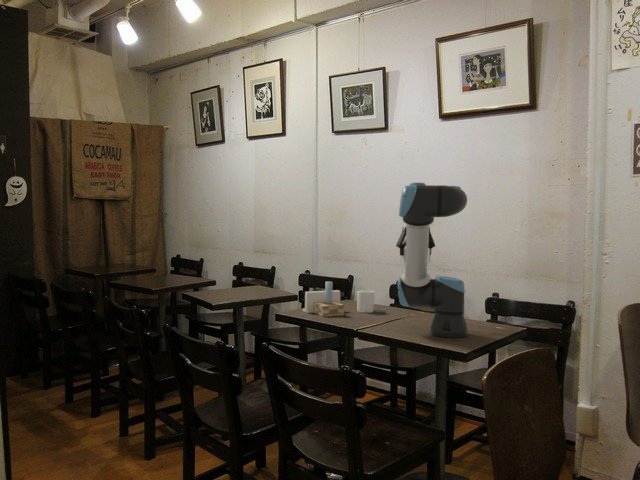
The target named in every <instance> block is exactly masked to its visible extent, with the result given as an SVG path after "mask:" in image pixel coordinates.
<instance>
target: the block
mask: <svg viewBox="0 0 640 480" xmlns="http://www.w3.org/2000/svg"><path fill="white" fill-rule="evenodd" d="M314 314H316V315H318V316H321V317H323V318H324V317H325V318H326V317H335V316H344V315H345V304H342V303H341V302H340V303H337V302H335V301H332V304H330V305H326V304H325V302H314Z"/></svg>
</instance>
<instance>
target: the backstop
mask: <svg viewBox="0 0 640 480" xmlns="http://www.w3.org/2000/svg"><path fill="white" fill-rule="evenodd" d="M332 301H335V302H337V303H340V304H341V290H339V289H336V290H335V289H334V290H333V289H332ZM314 302H325V290H317V291H316V290H315V291H305V292H304V308H302V312H304V313H306V314H311V313H314ZM314 314H315V313H314Z"/></svg>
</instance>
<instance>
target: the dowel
mask: <svg viewBox="0 0 640 480" xmlns="http://www.w3.org/2000/svg"><path fill="white" fill-rule="evenodd" d="M324 283H325V289H324V291H325V304H326V305H330V304H332V291H333V281H325V282H324Z"/></svg>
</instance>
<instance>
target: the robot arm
mask: <svg viewBox="0 0 640 480" xmlns="http://www.w3.org/2000/svg"><path fill="white" fill-rule="evenodd" d="M467 196H468V195H467V194H466V192H465V191H464V190H463V189H462V188H461V186H457V185H446V184H445V185H426V183H425V182H410V183H409V185H404V186H403V188H402V189H401V196H400V201H399V207H398V208H399V210H398V216H399V217H401V218H402V221H403V223H405V225H406V226H402V230H401V233H400V235H399V237H398V241H397V242H396V245H395V247H397V248H398V249H399V256H400V263H401V264H405V265H404V267H405V268H404V269H405V270H404V272H403V273H402V274H401V276H400V277H398V279H397V293H398V299H399V300H398V301H399V304H400V305H401V306H403V307H409V308H431V309H433V308H434V314H433V318H432V320H431V324H430V326H429V334H431V335H433V336H436V337H441V338H450V339H451V338H452V339H454V338H458V339H459V338H464V337H465V338H466V337H468V331H469V330H468V326H467V322H466V320H465V293H466V290H465V282H464V280H462V279H460V278H456V277H451V276H446V275H435V277H434V278H431V275H430V274H429V273H428V263H431V256H432V250H433V248H435V247H436V244H435V240H434V239H433V238H434V237H433V236H432V232H431V227H430V225H431V224H433V223H434V221H435V218H447V217H452V216H454V215H457V214H459V213H461V212H462V211H463V210H464V209H465V208H466V207H467V204H468V197H467Z"/></svg>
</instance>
